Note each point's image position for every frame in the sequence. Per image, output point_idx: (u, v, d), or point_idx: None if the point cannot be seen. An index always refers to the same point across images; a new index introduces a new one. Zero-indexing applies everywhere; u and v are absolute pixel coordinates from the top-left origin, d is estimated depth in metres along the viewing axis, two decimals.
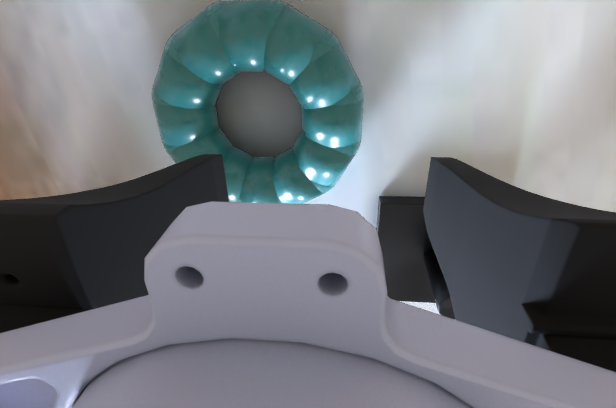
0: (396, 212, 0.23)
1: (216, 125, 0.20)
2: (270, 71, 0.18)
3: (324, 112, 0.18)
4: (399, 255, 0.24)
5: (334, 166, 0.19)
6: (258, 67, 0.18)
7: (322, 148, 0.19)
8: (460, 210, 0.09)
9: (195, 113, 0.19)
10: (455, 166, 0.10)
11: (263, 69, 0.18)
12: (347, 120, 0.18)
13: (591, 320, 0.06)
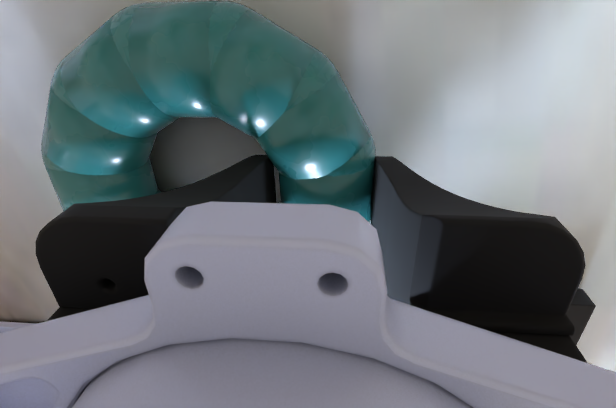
0: None
1: (151, 192, 0.13)
2: (224, 119, 0.11)
3: (313, 186, 0.11)
4: None
5: None
6: (203, 113, 0.11)
7: None
8: (387, 208, 0.10)
9: (109, 181, 0.12)
10: (389, 165, 0.10)
11: (213, 115, 0.11)
12: (350, 197, 0.11)
13: (470, 313, 0.06)
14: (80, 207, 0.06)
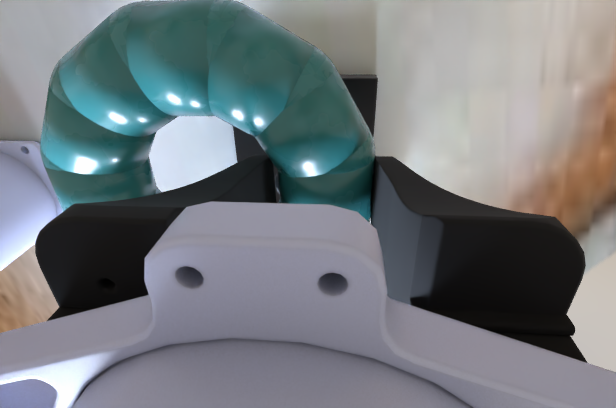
0: None
1: (150, 191, 0.13)
2: (222, 118, 0.11)
3: (312, 184, 0.11)
4: (260, 147, 0.21)
5: None
6: (202, 111, 0.11)
7: None
8: (387, 208, 0.10)
9: (108, 180, 0.12)
10: (389, 165, 0.10)
11: (211, 114, 0.11)
12: (350, 195, 0.11)
13: (470, 313, 0.06)
14: (80, 207, 0.06)
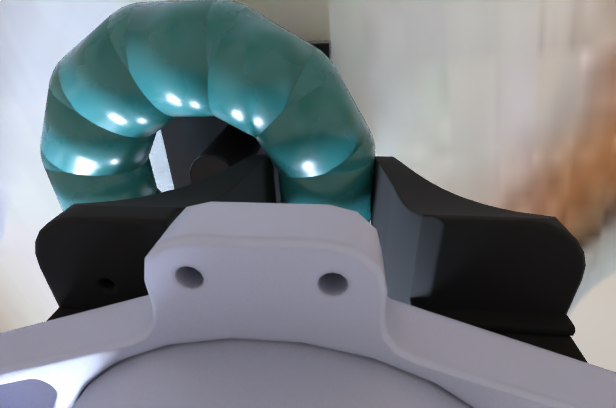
0: None
1: (150, 192, 0.13)
2: (222, 118, 0.11)
3: (312, 184, 0.11)
4: (192, 134, 0.17)
5: None
6: (202, 112, 0.11)
7: None
8: (387, 208, 0.10)
9: (108, 182, 0.12)
10: (389, 165, 0.10)
11: (211, 114, 0.11)
12: (350, 195, 0.11)
13: (470, 314, 0.06)
14: (80, 207, 0.06)
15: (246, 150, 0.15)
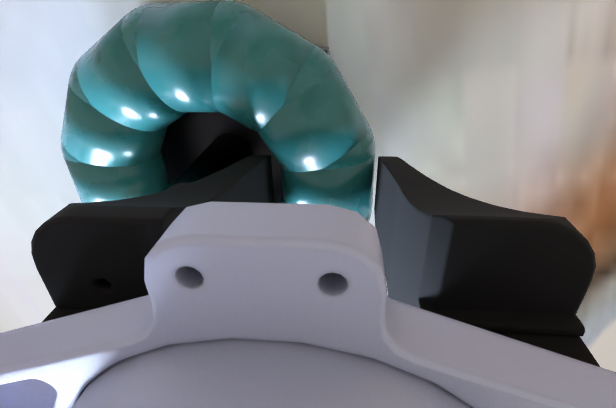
0: None
1: (161, 184, 0.14)
2: (226, 114, 0.11)
3: (311, 178, 0.11)
4: (173, 152, 0.15)
5: None
6: (207, 108, 0.11)
7: None
8: (393, 208, 0.10)
9: (122, 173, 0.13)
10: (394, 165, 0.10)
11: (216, 110, 0.11)
12: (348, 190, 0.11)
13: (479, 314, 0.06)
14: (76, 207, 0.06)
15: None
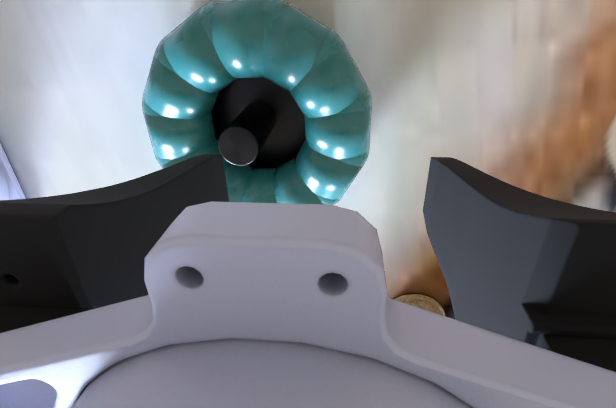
0: None
1: (212, 136, 0.19)
2: (269, 77, 0.16)
3: (329, 121, 0.16)
4: (215, 116, 0.20)
5: (340, 179, 0.18)
6: (256, 73, 0.16)
7: (327, 160, 0.17)
8: (460, 210, 0.09)
9: (189, 124, 0.17)
10: (455, 166, 0.10)
11: (262, 75, 0.16)
12: (354, 129, 0.17)
13: (591, 320, 0.06)
14: None
15: (264, 126, 0.17)
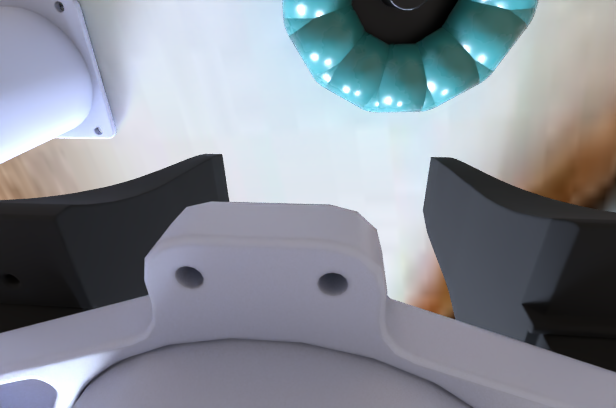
0: None
1: None
2: None
3: None
4: None
5: (506, 39, 0.16)
6: None
7: (497, 12, 0.15)
8: (460, 210, 0.09)
9: None
10: (455, 166, 0.10)
11: None
12: None
13: (591, 320, 0.06)
14: None
15: None
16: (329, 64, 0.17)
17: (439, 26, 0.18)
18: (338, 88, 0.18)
